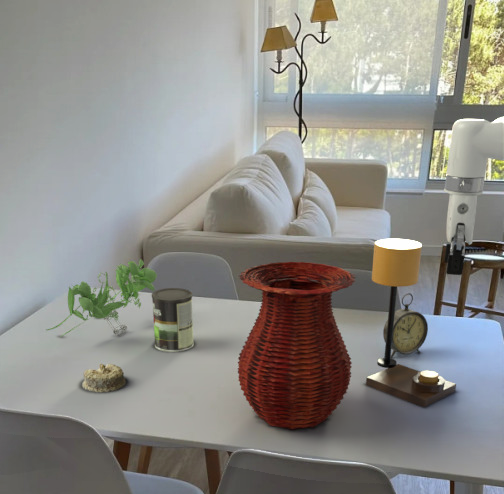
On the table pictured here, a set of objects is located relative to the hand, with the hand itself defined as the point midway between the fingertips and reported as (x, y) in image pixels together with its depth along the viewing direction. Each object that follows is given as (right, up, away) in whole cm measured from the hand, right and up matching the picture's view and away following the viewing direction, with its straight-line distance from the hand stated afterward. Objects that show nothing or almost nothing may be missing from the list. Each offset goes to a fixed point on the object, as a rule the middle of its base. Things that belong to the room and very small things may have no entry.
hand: (452, 268), depth 150 cm
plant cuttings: (-83, -9, +44) cm, 94 cm away
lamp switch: (-4, -24, +6) cm, 25 cm away
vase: (-34, -31, -1) cm, 46 cm away
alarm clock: (-4, -17, +30) cm, 34 cm away
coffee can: (-63, -14, +35) cm, 73 cm away
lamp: (-11, -20, +14) cm, 27 cm away
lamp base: (-7, -26, +11) cm, 28 cm away
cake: (-77, -25, +12) cm, 81 cm away
